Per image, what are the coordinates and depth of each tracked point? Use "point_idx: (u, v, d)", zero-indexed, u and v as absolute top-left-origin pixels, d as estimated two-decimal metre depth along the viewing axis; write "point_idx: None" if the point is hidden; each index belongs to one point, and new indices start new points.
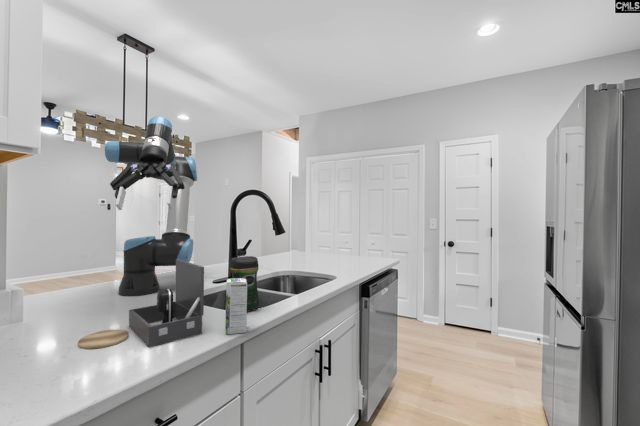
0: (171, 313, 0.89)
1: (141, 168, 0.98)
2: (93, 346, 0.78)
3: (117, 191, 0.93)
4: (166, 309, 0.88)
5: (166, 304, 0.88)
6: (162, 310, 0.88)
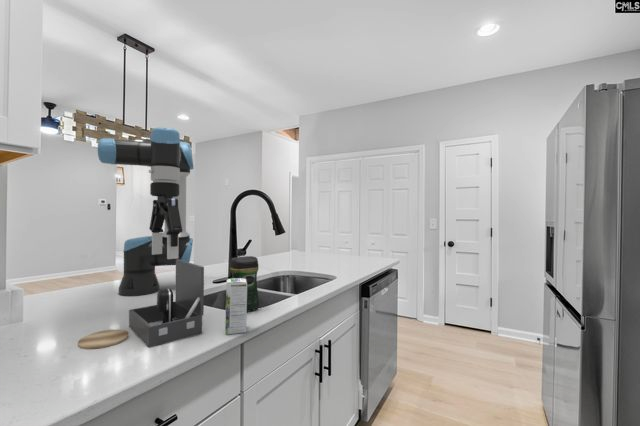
0: (171, 313, 0.89)
1: (156, 209, 0.92)
2: (93, 346, 0.78)
3: None
4: (166, 309, 0.88)
5: (166, 304, 0.88)
6: (162, 310, 0.88)
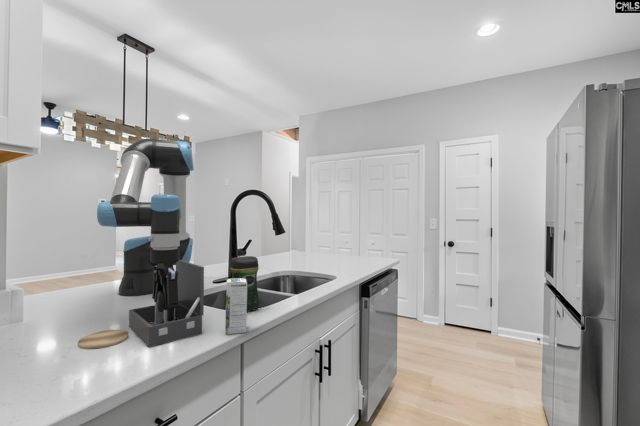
0: None
1: (156, 276, 0.91)
2: (93, 346, 0.78)
3: None
4: None
5: None
6: (162, 310, 0.88)
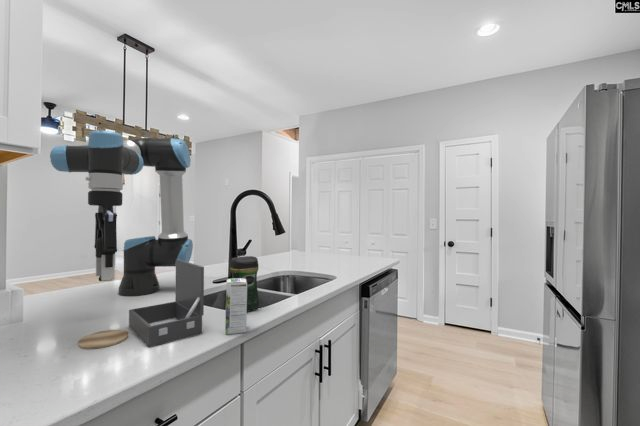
0: None
1: (96, 221, 0.84)
2: (93, 346, 0.78)
3: None
4: None
5: None
6: (100, 256, 0.80)
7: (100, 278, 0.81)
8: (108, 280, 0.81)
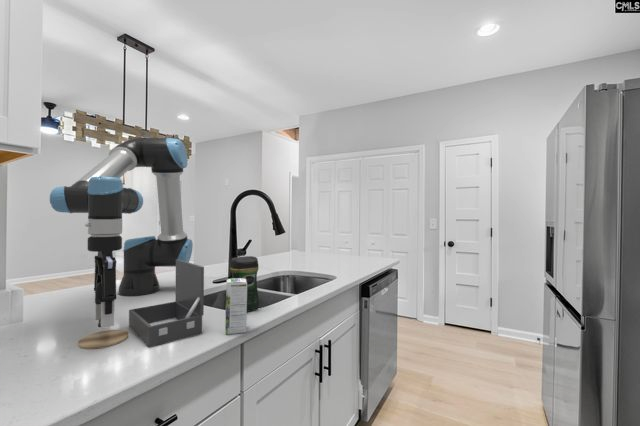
0: None
1: (95, 266, 0.84)
2: (93, 346, 0.78)
3: None
4: None
5: None
6: None
7: (99, 324, 0.81)
8: None
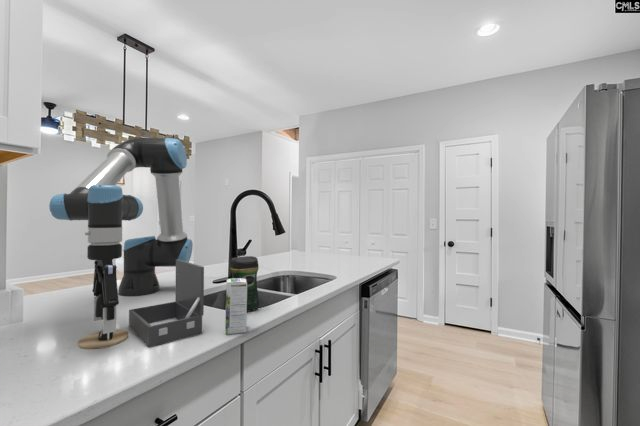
0: None
1: (95, 273, 0.84)
2: (93, 346, 0.78)
3: None
4: None
5: None
6: (99, 315, 0.80)
7: (100, 337, 0.81)
8: (108, 339, 0.81)
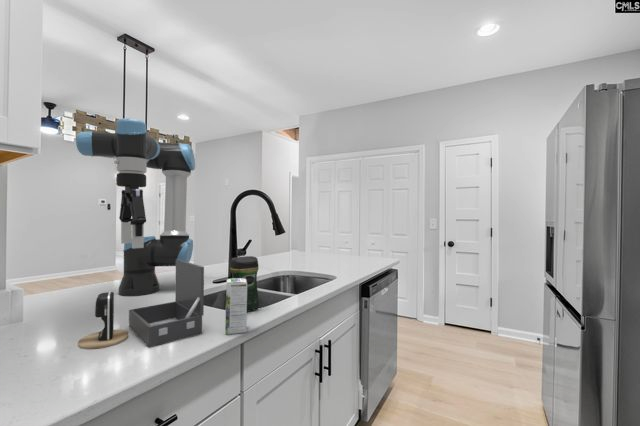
0: (110, 319, 0.81)
1: (123, 200, 0.93)
2: (93, 346, 0.78)
3: None
4: (104, 314, 0.81)
5: (104, 309, 0.81)
6: (99, 315, 0.80)
7: (100, 337, 0.81)
8: (108, 339, 0.81)
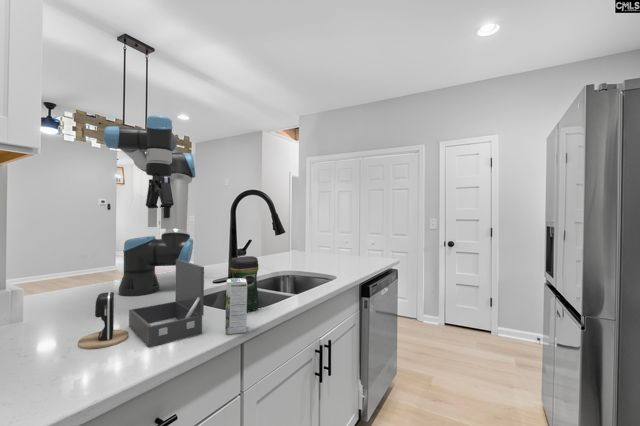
0: (110, 319, 0.81)
1: (151, 187, 1.05)
2: (93, 346, 0.78)
3: None
4: (104, 314, 0.81)
5: (104, 309, 0.81)
6: (99, 315, 0.80)
7: (100, 337, 0.81)
8: (108, 339, 0.81)
